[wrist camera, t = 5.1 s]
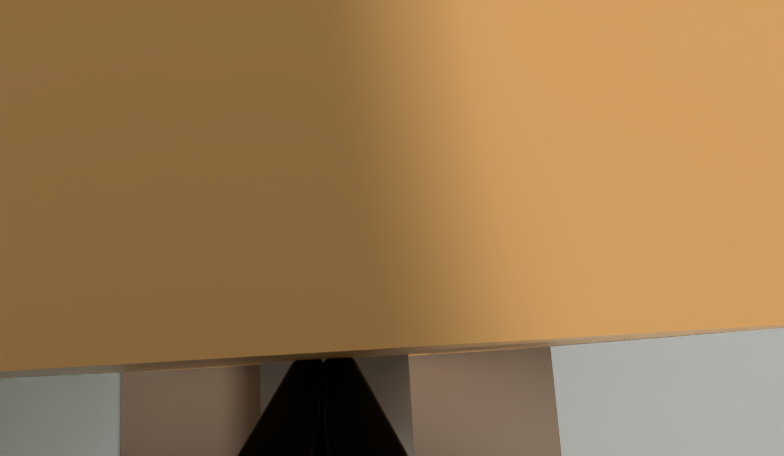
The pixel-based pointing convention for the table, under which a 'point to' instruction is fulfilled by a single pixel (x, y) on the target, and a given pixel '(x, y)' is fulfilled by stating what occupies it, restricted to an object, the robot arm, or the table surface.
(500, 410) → the pipe board
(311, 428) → the robot arm
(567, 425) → the table surface
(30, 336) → the orange tan block
